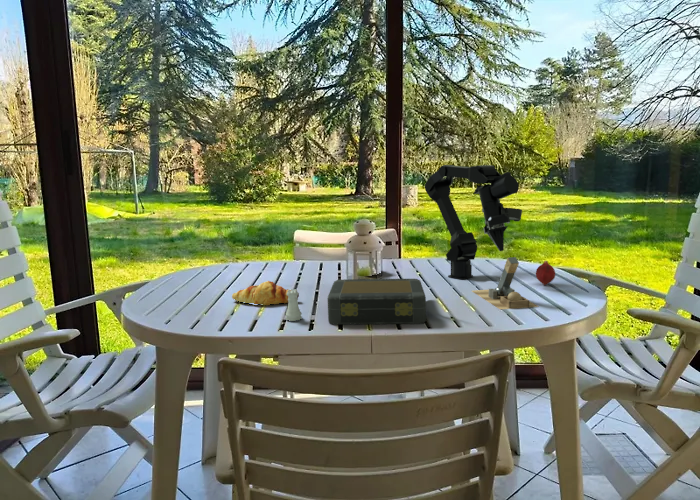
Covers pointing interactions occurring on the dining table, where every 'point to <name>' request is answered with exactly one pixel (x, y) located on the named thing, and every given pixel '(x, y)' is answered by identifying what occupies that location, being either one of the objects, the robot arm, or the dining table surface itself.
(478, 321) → the dining table surface
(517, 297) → the beige ball
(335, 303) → the cash box
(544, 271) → the onion
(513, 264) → the lever
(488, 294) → the base
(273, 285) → the croissant
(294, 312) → the rook chess piece
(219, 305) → the dining table surface
